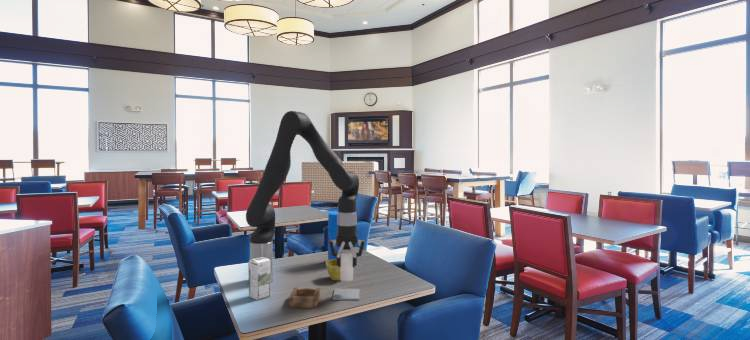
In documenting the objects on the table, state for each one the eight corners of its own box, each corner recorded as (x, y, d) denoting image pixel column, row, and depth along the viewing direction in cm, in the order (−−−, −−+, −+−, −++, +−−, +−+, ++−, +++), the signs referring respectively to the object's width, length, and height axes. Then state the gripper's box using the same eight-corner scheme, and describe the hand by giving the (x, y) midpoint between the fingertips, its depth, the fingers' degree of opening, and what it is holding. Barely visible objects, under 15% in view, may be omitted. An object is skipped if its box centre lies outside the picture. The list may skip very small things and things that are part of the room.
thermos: (353, 261, 191) (354, 212, 190) (341, 267, 182) (341, 215, 181) (336, 258, 197) (337, 210, 196) (323, 263, 188) (323, 213, 187)
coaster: (332, 300, 142) (332, 298, 142) (334, 290, 152) (334, 288, 152) (359, 300, 142) (359, 298, 142) (359, 290, 152) (359, 288, 152)
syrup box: (261, 292, 148) (261, 256, 147) (270, 296, 144) (270, 259, 144) (248, 296, 144) (248, 259, 143) (257, 300, 140) (257, 262, 139)
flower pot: (340, 284, 159) (340, 267, 159) (321, 279, 164) (321, 263, 163) (353, 277, 168) (353, 261, 167) (334, 273, 173) (334, 258, 172)
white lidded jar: (339, 281, 144) (339, 250, 143) (340, 276, 149) (340, 246, 149) (353, 281, 144) (353, 250, 143) (353, 276, 149) (354, 246, 149)
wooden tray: (288, 307, 134) (288, 297, 134) (293, 296, 144) (294, 287, 144) (316, 307, 135) (316, 298, 135) (320, 296, 145) (320, 287, 144)
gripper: (327, 225, 142) (327, 269, 142) (365, 225, 142) (365, 269, 143) (329, 221, 149) (329, 263, 150) (365, 221, 149) (365, 264, 150)
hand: (346, 266), depth 146 cm, fingers closed on white lidded jar, 5 cm apart
